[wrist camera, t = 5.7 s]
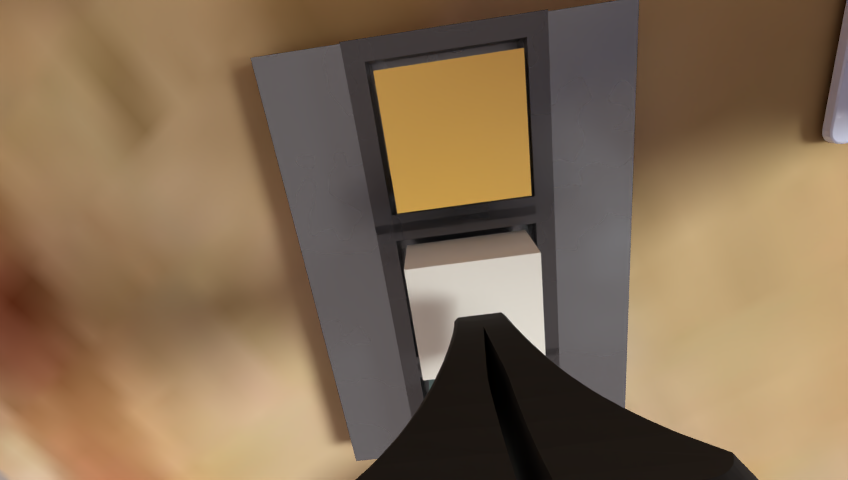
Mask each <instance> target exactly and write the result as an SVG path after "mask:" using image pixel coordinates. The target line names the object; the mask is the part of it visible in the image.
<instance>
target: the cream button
mask: <svg viewBox="0 0 848 480" xmlns="http://www.w3.org/2000/svg"><path fill="white" fill-rule="evenodd" d="M404 273H405V279H406V284H407V290H408V296H409V302H410V308H411V313H412V319H413V325H414V331H415V337H416V342H417V348H418V354H419V360H420V366H421V371H422V377H423V380H432V379H435V378H436V376H437V374H438V372H439V370H440V368H441V366H442V363H443V361H444V358H445V356H446V353H447V350H448V348H449V345H450V341H451V338H452V334H453V329H454V321H455V320H456V319H457V318H458V317H466V316H475V315H483V314H491V313H499V312H502V313H503V314H504V315H505V316H506V317H507V318H508V319H509V320H510V321H511V322H512V324H513V325H514V326H515V327H516V328H517V329H518V330H519V331H520V332H521V333H522V334H523V335H524V336H525V337H526V338H527V339H528V340H529V341H530V342H531V343H532V344H533V345H534V346H535V347H536V348H538V349H539V350H540V351H541V352H542V353H543V354H544V355H545V356H546V353H545V331H544V310H543V288H542V267H541V252H540V251H539V249H538V248H537V246H536V245H535V243H534V242H533V240H532V239H531V237H530V236H529V234H528V233H527V232H526V230H521V231H513V232H505V233H498V234H490V235H482V236H474V237H467V238H459V239H451V240H444V241H436V242H428V243H421V244H413V245H407V248H406V257H405V266H404Z"/></svg>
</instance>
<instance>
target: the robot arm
mask: <svg viewBox="0 0 848 480" xmlns="http://www.w3.org/2000/svg"><path fill="white" fill-rule="evenodd" d="M822 136H823V138H824V140H826V141H827V142H830V143H837V144H844V143H848V0H847V1H846V6H845V11H844V17H843V22H842V27H841V33H840V38H839V43H838V49H837V54H836V59H835V65H834V70H833V75H832V81H831V86H830V91H829V97H828V102H827V107H826V113H825V118H824V123H823V129H822ZM356 480H758V479H757V478H756V477H755V475H754V474H753V473H752V472H751V471H750V470H749V469H748V468H747V467H746V466H745V465H744V464H743V463H742V462H741V461H740V460H739V459H738V458H737V457H736V456H735V455H734V454H733V453H732V452H729V451H726V450H724V449H721V448H718V447H715V446H713V445H710V444H707V443H704V442H702V441H699V440H696V439H693V438H691V437H688V436H685V435H682V434H680V433H677V432H675V431H672V430H670V429H668V428H666V427H663V426H661V425H659V424H657V423H654V422H652V421H650V420H647V419H645V418H643V417H641V416H639V415H637V414H635V413H633V412H631V411H629V410H627V409H625V408H623V407H621V406H619V405H618V404H616V403H614V402H612V401H610V400H608V399H607V398H605V397H603V396H601V395H600V394H598V393H596V392H595V391H593V390H591V389H590V388H588V387H587V386H585V385H584V384H582V383H581V382H579V381H578V380H576V379H575V378H573V377H572V376H570V375H569V374H568V373H566V372H565V371H564V370H562V369H561V368H560V367H559V366H557V365H556V364H555V363H554V362H552V361H551V360H550V359H549V358H548V357H546V356H545V355H544V354H543V353H542V352H541V351H540V350H539V349H538V348H536V347H535V346H534V345H533V344H532V343H531V342H530V341H529V340H528V339H527V338H526V337H525V336H524V335H523V334H522V333H521V332H520V331H519V330H518V329H517V328H516V327H515V326H514V325H513V324H512V322H511V321H510V320H509V319H508V318H507V317H506V316H505V315H504V314H503V313H502V312H499V313H491V314H483V315H475V316H466V317H458V318H457V319H456V320H455V321H454V329H453V334H452V338H451V341H450V345H449V348H448V350H447V353H446V356H445V358H444V361H443V363H442V366H441V368H440V370H439V372H438V374H437V376H436V378H435V380H434V382H433V384H432V386H431V388H430V390H429V392H428V393H427V395H426V397H425V399H424V400H423V402H422V403H421V405H420V407H419V408H418V410H417V411H416V412H415V414H414V415H413V417H412V418H411V420H410V421H409V422H408V424H407V425H406V427H405V428H404V429H403V430H402V432H401V433H400V434H399V435H398V437H397V438H396V439H395V440H394V441H393V442H392V443H391V445H390V446H389V447H388V448H387V449H386V450H385V451H384V452H383V454H382V455H381V456H380V457H379V458H378V459H377V460H376V461H375V462H374V463H373V464H372V465H371V466H370V467H369V468H368V469H367V470H366V471H365V472H364V473H363V474H362V475H360V476H359V477H358V478H357V479H356Z"/></svg>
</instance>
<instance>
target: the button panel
mask: <svg viewBox="0 0 848 480" xmlns="http://www.w3.org/2000/svg"><path fill="white" fill-rule="evenodd" d="M638 16H639V0H617V1H611V2H604V3H598V4H592V5H585V6H579V7H572V8H566V9H560V10H553V11H548V10H541V11H535V12H528V13H522V14H516V15H509V16H503V17H497V18H490V19H484V20H477V21H471V22H465V23H458V24H452V25H446V26H439V27H433V28H427V29H420V30H414V31H407V32H401V33H395V34H388V35H382V36H376V37H369V38H363V39H356V40H350V41H344V42H340V44H336V45H330V46H324V47H317V48H311V49H305V50H298V51H292V52H285V53H279V54H273V55H266V56H260V57H253V58H251V61H252V65H253V69H254V73H255V77H256V80H257V84H258V88H259V92H260V96H261V99H262V103H263V107H264V111H265V115H266V119H267V122H268V126H269V130H270V134H271V138H272V141H273V145H274V149H275V153H276V157H277V160H278V164H279V168H280V172H281V176H282V179H283V183H284V187H285V191H286V195H287V199H288V202H289V206H290V210H291V214H292V218H293V221H294V225H295V229H296V233H297V237H298V240H299V244H300V248H301V252H302V256H303V259H304V263H305V267H306V271H307V275H308V279H309V282H310V286H311V290H312V294H313V298H314V301H315V305H316V309H317V313H318V317H319V320H320V324H321V328H322V332H323V336H324V339H325V343H326V347H327V351H328V355H329V358H330V362H331V366H332V370H333V374H334V378H335V381H336V385H337V389H338V393H339V397H340V400H341V404H342V408H343V412H344V416H345V419H346V423H347V427H348V431H349V435H350V438H351V442H352V446H353V450H354V454H355V458H356V461H360V460H370V459H378V458H379V457H380V456H381V455H382V454H383V452H384V451H385V450H386V449H387V448H388V447H389V446H390V445H391V443H392V442H393V441H394V440H395V439H396V438H397V437H398V435H399V434H400V433H401V432H402V430H403V429H404V428H405V427H406V425H407V424H408V422H409V421H410V420H411V418H412V417H413V415H414V414H415V412H416V411H417V410H418V408H419V407H420V405H421V403H422V402H423V400H424V399H425V397H426V395H427V393H428V392H429V380H423V377H422V371H421V366H420V360H419V354H418V348H417V342H416V337H415V331H414V325H413V319H412V313H411V308H410V302H409V296H408V290H407V284H406V279H405V273H404V266H405V257H406V248H407V245H413V244H421V243H428V242H436V241H444V240H451V239H459V238H467V237H474V236H482V235H490V234H498V233H505V232H513V231H521V230H526V232H527V233H528V234H529V236H530V237H531V239H532V240H533V242H534V243H535V245H536V246H537V248H538V249H539V251H540V252H541V267H542V288H543V310H544V331H545V353H546V357H548V358H549V359H550V360H551V361H552V362H554V363H555V364H556V365H557V366H559V367H560V368H561V369H562V370H564V371H565V372H566V373H568V374H569V375H570V376H572V377H573V378H575V379H576V380H578V381H579V382H581V383H582V384H584V385H585V386H587V387H588V388H590V389H591V390H593V391H595V392H596V393H598V394H600V395H601V396H603V397H605V398H607V399H608V400H610V401H612V402H614V403H616V404H618V405H619V406H621V407H623V408H625V391H626V362H627V334H628V305H629V276H630V247H631V218H632V189H633V160H634V132H635V103H636V74H637V45H638ZM519 48H524V58H525V77H526V96H527V116H528V135H529V154H530V174H531V193H532V196H524V197H517V198H510V199H502V200H495V201H487V202H480V203H472V204H465V205H457V206H450V207H443V208H435V209H428V210H420V211H413V212H405V213H398V214H397V208H396V202H395V196H394V190H393V184H392V178H391V173H390V167H389V161H388V155H387V149H386V143H385V137H384V131H383V126H382V120H381V114H380V108H379V102H378V96H377V90H376V84H375V78H374V73H373V71H375V70H382V69H388V68H395V67H401V66H408V65H415V64H421V63H428V62H434V61H441V60H447V59H454V58H460V57H467V56H473V55H480V54H487V53H493V52H500V51H506V50H513V49H519Z"/></svg>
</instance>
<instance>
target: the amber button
mask: <svg viewBox="0 0 848 480" xmlns="http://www.w3.org/2000/svg"><path fill="white" fill-rule="evenodd" d="M373 73H374V78H375V84H376V90H377V96H378V102H379V108H380V114H381V120H382V126H383V131H384V137H385V143H386V149H387V155H388V161H389V167H390V173H391V178H392V184H393V190H394V196H395V202H396V208H397V214H398V213H405V212H413V211H420V210H428V209H435V208H443V207H450V206H457V205H465V204H472V203H480V202H487V201H495V200H502V199H510V198H517V197H524V196H532V193H531V174H530V154H529V135H528V116H527V96H526V77H525V58H524V48H519V49H513V50H506V51H500V52H493V53H487V54H480V55H473V56H467V57H460V58H454V59H447V60H441V61H434V62H428V63H421V64H415V65H408V66H401V67H395V68H388V69H382V70H375V71H373Z"/></svg>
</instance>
